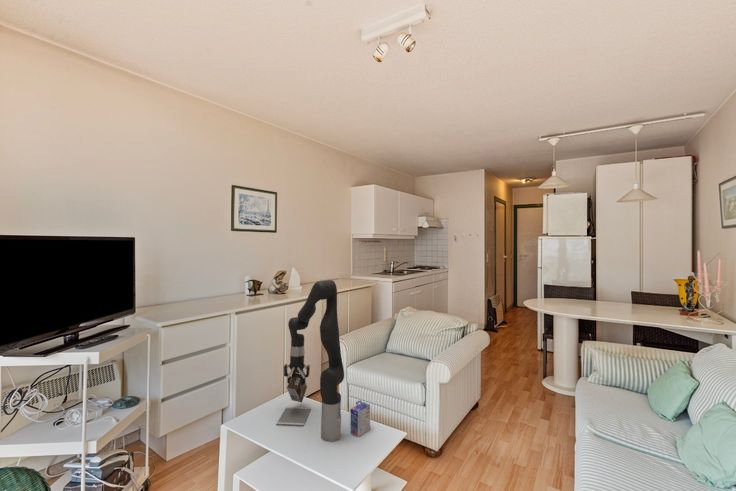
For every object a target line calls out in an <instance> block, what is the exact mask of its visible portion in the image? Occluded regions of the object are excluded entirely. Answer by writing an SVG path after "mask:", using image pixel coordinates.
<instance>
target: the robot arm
mask: <svg viewBox="0 0 736 491" xmlns="http://www.w3.org/2000/svg"><path fill="white" fill-rule="evenodd" d="M337 288H338V287H337V285H336V282H335V281H334V280H333V279H327V280H319V281H316V282H315V283H314V284H313V285H312V287H311V289H310V292H309V294H308V296H307V298H306V301H305V303H304V304H303V306H302V307H301V308H300V309H299V311H298V313H297V316H296V317H291V318H290V319H289V320H288V324H287V325H288V330H289V334H290V349H289V350H290V351H289V352H290V353H289V364H287V363H285V364H284V366H283V376H284V377H287V380H286V382H287V385H288V384H289V381H290V378H291V376H292V373H298V374H301V375H302V377H303V378H302V385H304V384H305V382H306V379H307V378H308V377H309V376H310V370H311V366H310V364H307V365H305V336H304V334H302V333H298V331H302V330H306V328H308V326H309V324H310V320H311V318H312V317H313V316H314V315H315V313H316V310H317V307H316V304H317V303H318V302H319V301H321V300H322V301H325V302H326V308H325V312H324V314H323V317H322V319H321V321H320V325H319V335H320V336H319V337H320V341H321V344H322V346H323V349H324V350H325V352H326V354H327V357H328V367H327V368H326V369H324V370H322V371H321V374H320V379H319V391H320V392H319V393H320V397H321V414H320V415H321V417H320V418H321V419H320V425H321V426H320V438H321V439H322V441H325V442H336V441H340V438H341V434H342V432H341V431H342V413H341V412H342V411H341V409H342V394H341V393H340V392H338V385H340V384H341V383H343V381H344V380H345V371H344V370H345V369H344V364H343V359H342V354H341V353H342V352H341V344H340V341H341V340H340V330H339V321H338V289H337ZM288 369H290V371H289V373H288ZM304 369H305V370H306V371H305V370H304ZM305 372H306V373H305ZM306 383H307V382H306Z"/></svg>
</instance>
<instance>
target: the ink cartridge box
mask: <svg viewBox="0 0 736 491" xmlns="http://www.w3.org/2000/svg"><path fill="white" fill-rule="evenodd" d="M355 404H356V405H355V406H353V407H352V408H350V434H351V435H353V436H355V437H356V438H358V437H360V436H361V435H363V434H365V433H367V432H368V431H370V430H371V404H368V403H366V402H364V401H362V400H361V399H359V400H357V401H356V402H355Z"/></svg>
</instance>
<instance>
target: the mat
mask: <svg viewBox="0 0 736 491" xmlns="http://www.w3.org/2000/svg"><path fill="white" fill-rule="evenodd" d="M311 410H312V407H296V406H286V407H285V409H284V410H283V412H282V413H281V415H280V417H279V419H278V420H277V421H276V426H281V427H282V426H285V427H304V426H305V424H306V422H307V420H308V417H309V416H310V413H311Z"/></svg>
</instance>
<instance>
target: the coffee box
mask: <svg viewBox="0 0 736 491" xmlns="http://www.w3.org/2000/svg"><path fill="white" fill-rule="evenodd" d="M302 378H303V377H302V375H301V374H300V373H292V374H291V378H290V381H289V384H288V383H287V386H286V389H287V392H288V394H289V397H290V399H291V401H294V402H298V403H303V401H304V397H305V395H306V392H307V389H308V386H307V382H305V384H304V385H302Z"/></svg>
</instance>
